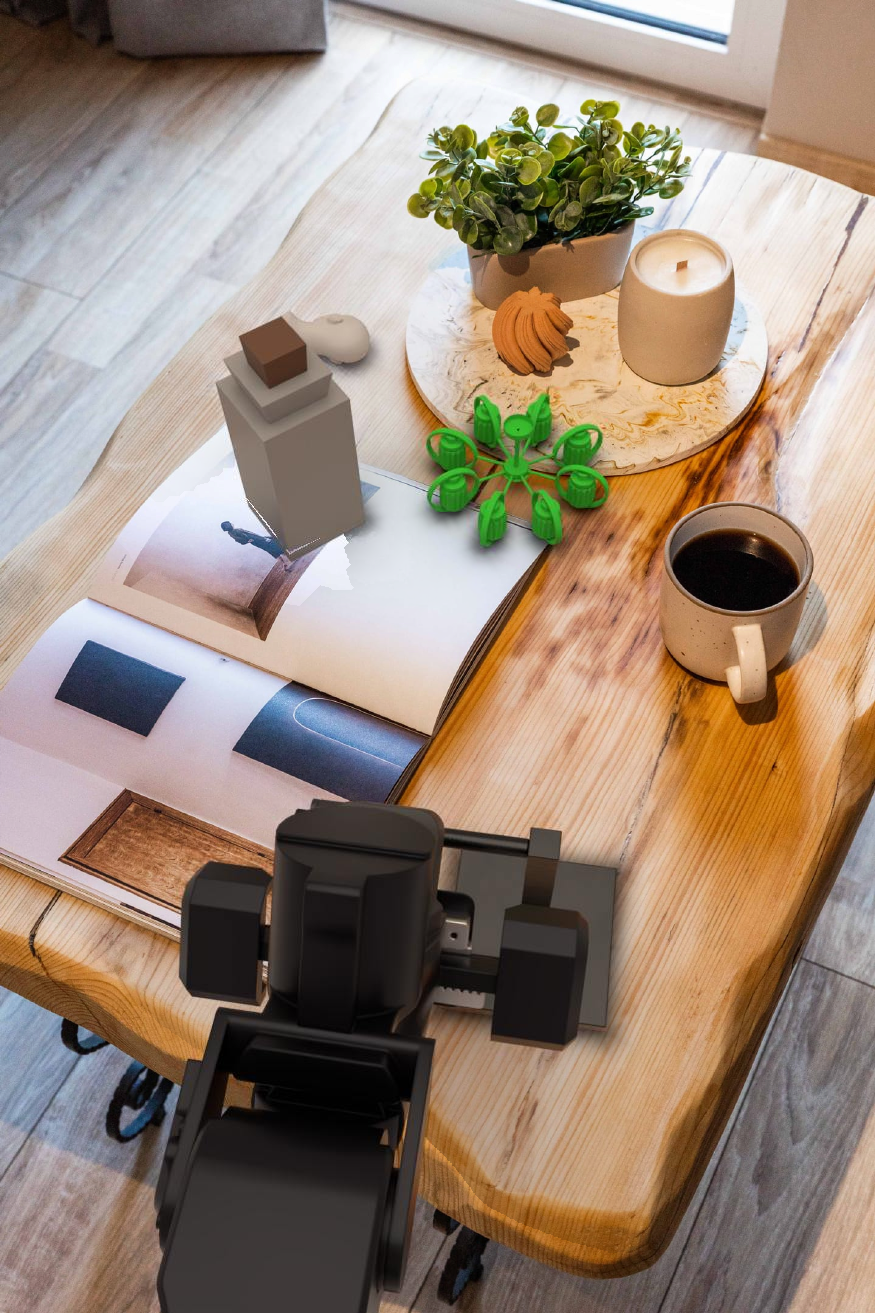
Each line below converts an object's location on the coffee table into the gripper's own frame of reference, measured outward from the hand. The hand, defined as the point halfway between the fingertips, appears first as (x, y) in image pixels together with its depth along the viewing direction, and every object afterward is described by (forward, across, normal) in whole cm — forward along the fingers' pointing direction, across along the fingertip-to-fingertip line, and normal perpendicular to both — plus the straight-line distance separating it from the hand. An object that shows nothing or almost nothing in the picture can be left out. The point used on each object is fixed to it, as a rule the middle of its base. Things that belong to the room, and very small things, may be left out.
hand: (408, 880), depth 60 cm
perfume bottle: (+31, +14, -15) cm, 37 cm away
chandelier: (+35, -2, -19) cm, 39 cm away
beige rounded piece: (+44, +16, -28) cm, 54 cm away
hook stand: (+9, -3, +7) cm, 12 cm away
